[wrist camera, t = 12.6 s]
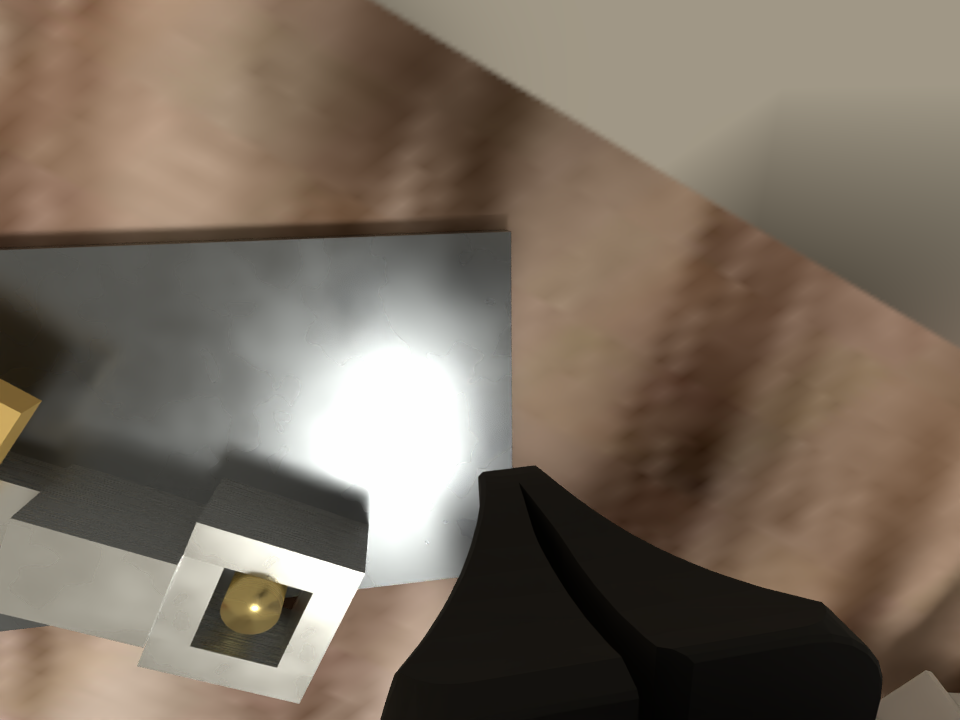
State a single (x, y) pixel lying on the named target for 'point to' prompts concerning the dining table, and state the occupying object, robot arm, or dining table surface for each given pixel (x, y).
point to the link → (175, 570)
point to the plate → (277, 376)
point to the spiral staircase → (920, 701)
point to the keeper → (13, 414)
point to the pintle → (252, 604)
